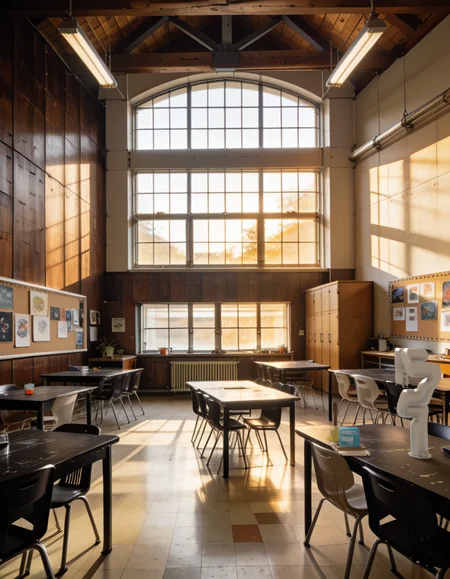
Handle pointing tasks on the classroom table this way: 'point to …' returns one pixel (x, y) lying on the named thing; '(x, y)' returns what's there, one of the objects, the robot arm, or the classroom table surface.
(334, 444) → the jig
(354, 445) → the data package
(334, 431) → the handbell
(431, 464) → the classroom table surface
